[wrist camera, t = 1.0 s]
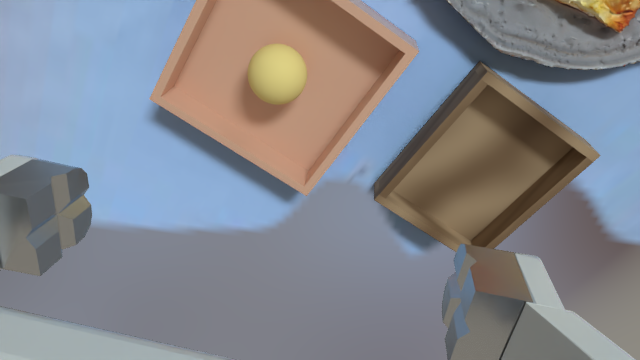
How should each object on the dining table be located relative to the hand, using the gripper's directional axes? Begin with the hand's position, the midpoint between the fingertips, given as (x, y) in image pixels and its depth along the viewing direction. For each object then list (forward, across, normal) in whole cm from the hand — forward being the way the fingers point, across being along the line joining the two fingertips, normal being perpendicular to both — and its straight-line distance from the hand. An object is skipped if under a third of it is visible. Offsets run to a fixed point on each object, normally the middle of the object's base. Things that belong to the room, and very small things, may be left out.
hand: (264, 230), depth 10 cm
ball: (+22, +5, +2) cm, 22 cm away
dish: (+24, +5, +2) cm, 25 cm away
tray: (+25, -10, +8) cm, 28 cm away
